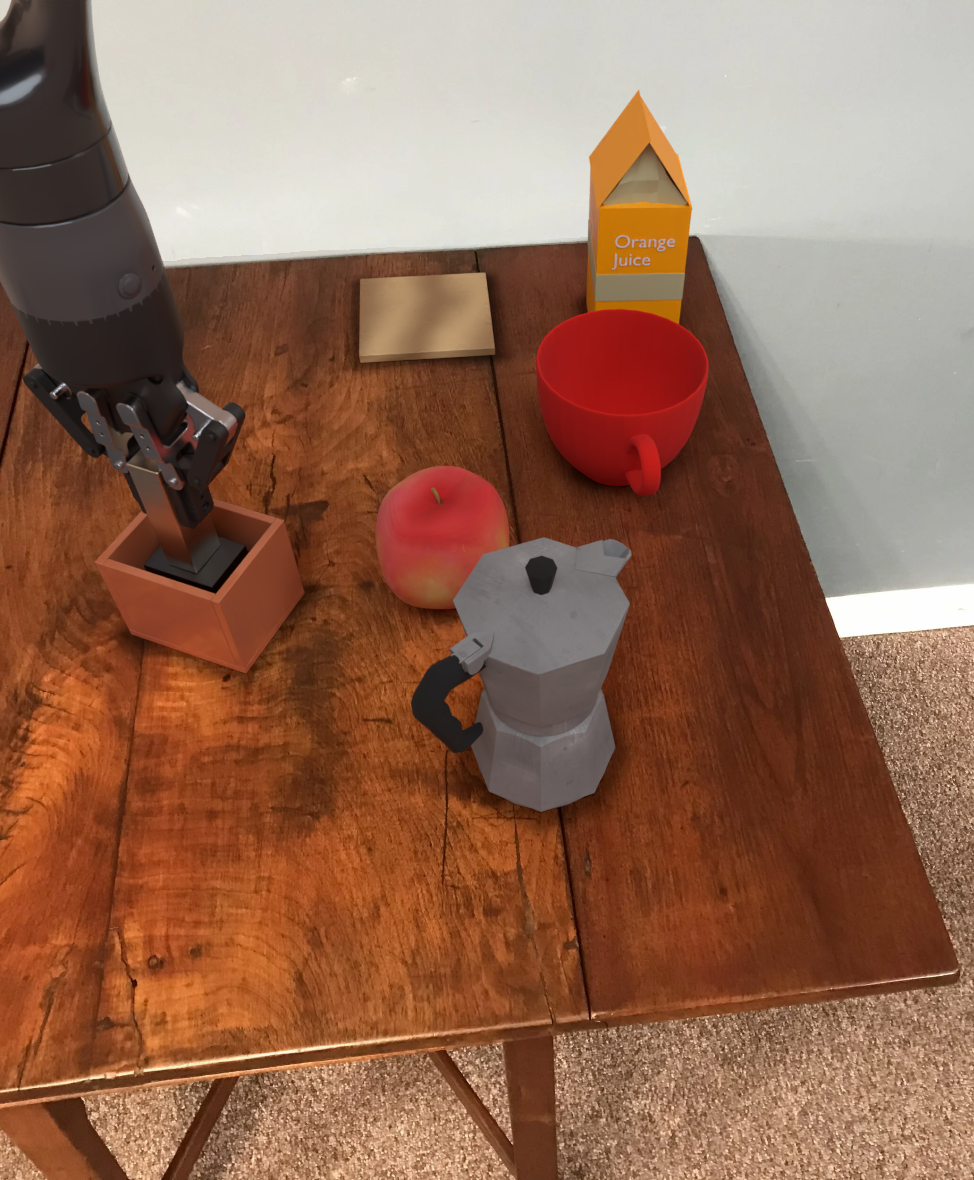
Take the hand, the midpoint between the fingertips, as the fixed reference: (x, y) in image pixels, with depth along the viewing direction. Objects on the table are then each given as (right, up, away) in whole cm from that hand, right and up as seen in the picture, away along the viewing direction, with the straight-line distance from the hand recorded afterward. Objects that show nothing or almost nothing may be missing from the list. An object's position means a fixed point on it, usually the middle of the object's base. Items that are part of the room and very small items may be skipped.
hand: (177, 511), depth 65 cm
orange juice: (+30, +19, +31) cm, 47 cm away
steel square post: (0, -5, +6) cm, 8 cm away
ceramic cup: (+29, +4, +18) cm, 34 cm away
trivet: (+11, +20, +31) cm, 38 cm away
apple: (+16, -5, +10) cm, 19 cm away
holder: (0, -7, +8) cm, 10 cm away
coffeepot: (+22, -16, +1) cm, 27 cm away
